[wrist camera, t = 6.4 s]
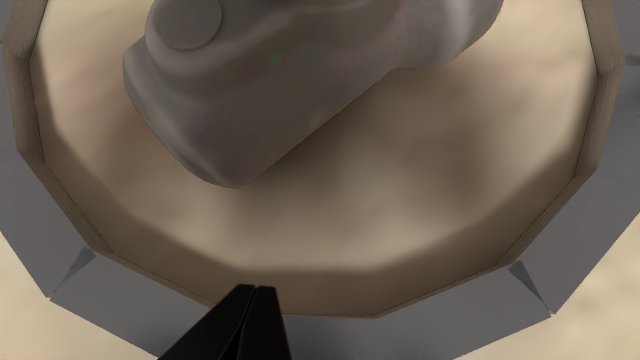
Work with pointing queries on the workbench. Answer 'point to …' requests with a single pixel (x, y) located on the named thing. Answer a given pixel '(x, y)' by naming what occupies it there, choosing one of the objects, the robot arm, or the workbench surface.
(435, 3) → the pipe fitting
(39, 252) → the ring
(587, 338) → the workbench surface
